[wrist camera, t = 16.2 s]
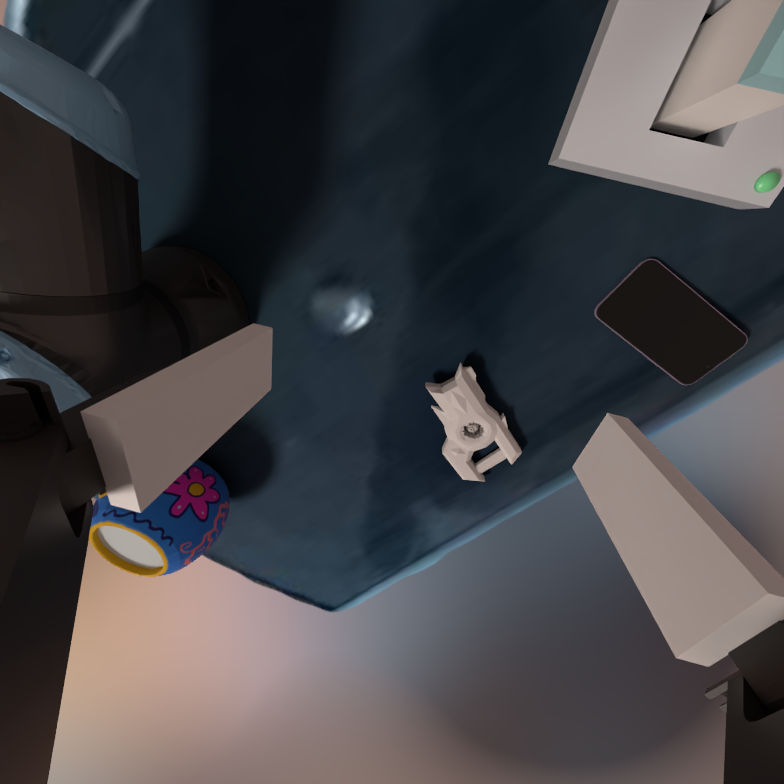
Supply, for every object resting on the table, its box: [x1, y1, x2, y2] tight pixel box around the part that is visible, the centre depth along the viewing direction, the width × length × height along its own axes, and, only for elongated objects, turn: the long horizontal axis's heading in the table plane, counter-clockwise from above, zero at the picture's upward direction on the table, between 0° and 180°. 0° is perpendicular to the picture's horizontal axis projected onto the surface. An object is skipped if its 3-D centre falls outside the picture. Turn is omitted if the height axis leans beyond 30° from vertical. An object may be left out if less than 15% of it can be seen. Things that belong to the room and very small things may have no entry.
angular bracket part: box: [425, 363, 522, 481], centre depth 43 cm, size 18×4×10 cm
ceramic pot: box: [89, 459, 230, 577], centre depth 50 cm, size 18×18×15 cm
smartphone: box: [594, 259, 748, 385], centre depth 34 cm, size 7×1×15 cm
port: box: [548, 0, 784, 209], centre depth 24 cm, size 18×14×3 cm
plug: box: [650, 0, 784, 138], centre depth 21 cm, size 4×6×11 cm, turn 168°
